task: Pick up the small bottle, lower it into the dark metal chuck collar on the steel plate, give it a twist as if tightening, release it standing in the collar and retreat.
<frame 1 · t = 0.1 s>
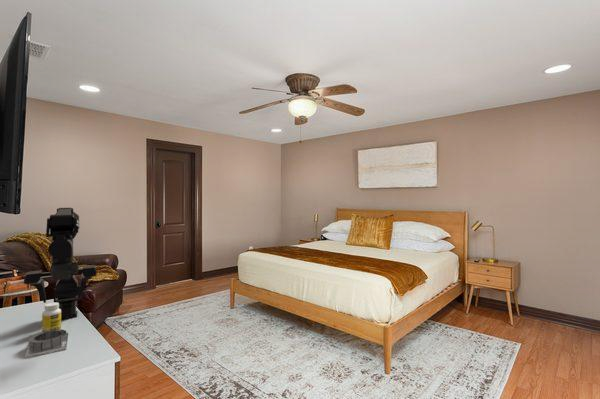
hand: (62, 300, 105), 15 cm above the dresser, fingers open, 9 cm apart
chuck: (48, 345, 104), on the dresser
supplement bottle: (51, 331, 115), on the dresser
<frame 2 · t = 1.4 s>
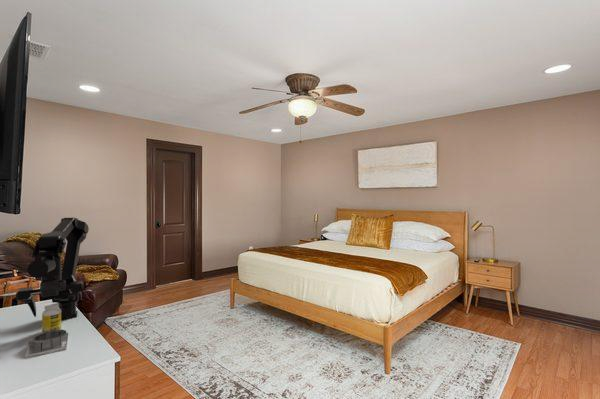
hand: (51, 313, 115), 6 cm above the dresser, fingers open, 9 cm apart
nothing on the dresser moved.
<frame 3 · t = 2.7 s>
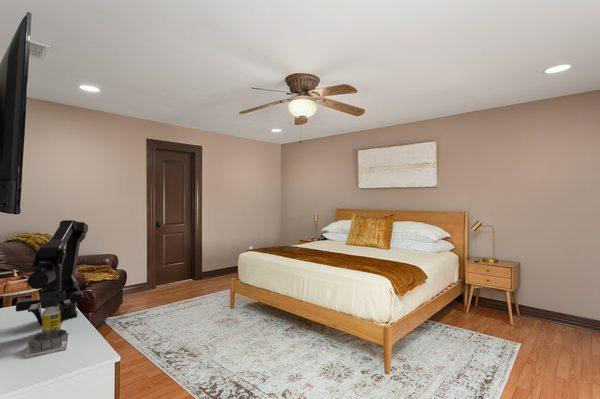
hand: (51, 324, 114), 3 cm above the dresser, fingers closed on supplement bottle, 5 cm apart
supplement bottle: (51, 331, 115), on the dresser, touching gripper
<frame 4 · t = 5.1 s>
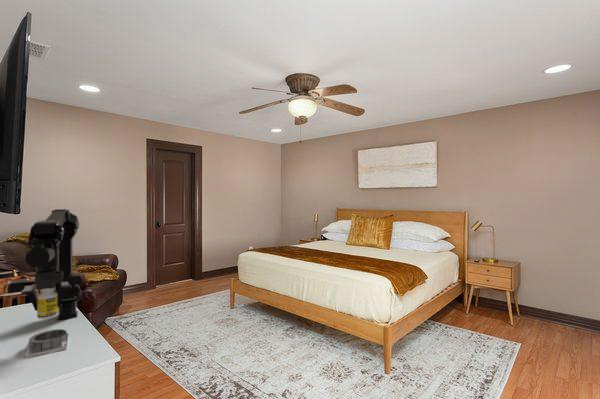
hand: (47, 308, 104), 12 cm above the dresser, fingers closed on supplement bottle, 5 cm apart
supplement bottle: (48, 317, 104), point 9 cm above the dresser, touching gripper
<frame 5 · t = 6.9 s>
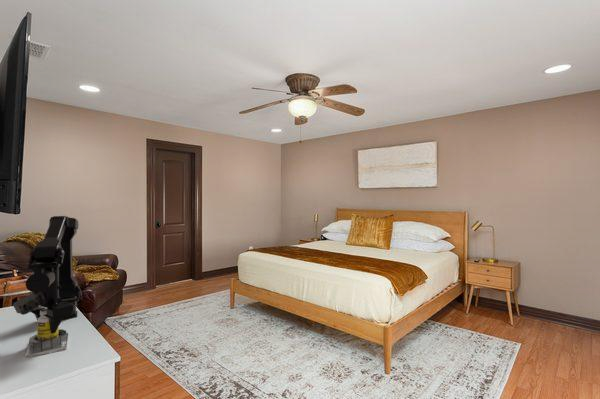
hand: (48, 331, 104), 5 cm above the dresser, fingers closed on supplement bottle, 5 cm apart
supplement bottle: (48, 339, 104), point 2 cm above the dresser, touching gripper
when the fingers open (5 cm above the dresser, at t = 7.9 s): supplement bottle drops 1 cm, resting on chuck.
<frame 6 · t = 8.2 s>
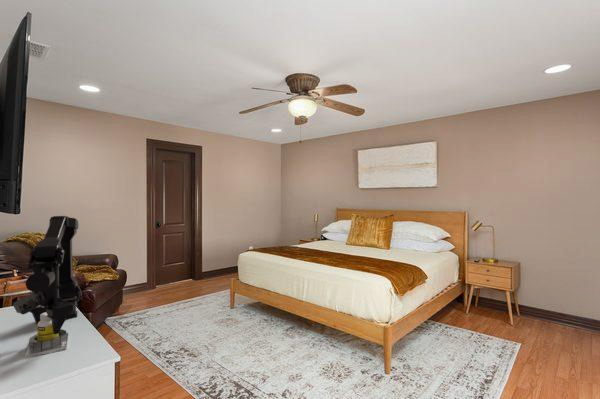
hand: (48, 331, 104), 5 cm above the dresser, fingers open, 9 cm apart
supplement bottle: (48, 343, 104), point 1 cm above the dresser, touching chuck
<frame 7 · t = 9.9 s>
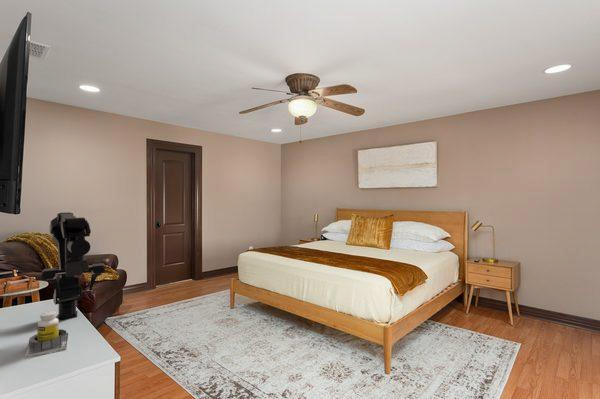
hand: (75, 294, 117), 12 cm above the dresser, fingers open, 9 cm apart
nothing on the dresser moved.
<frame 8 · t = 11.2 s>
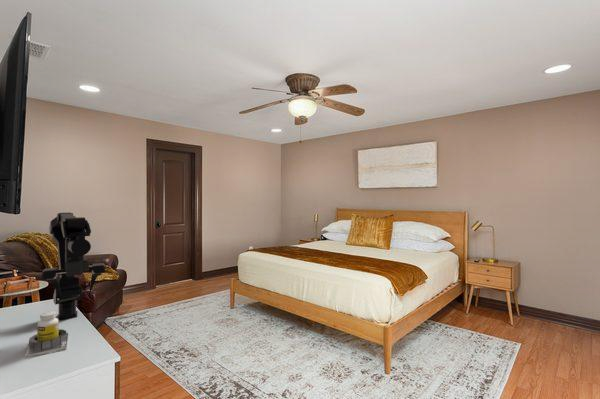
hand: (75, 294, 117), 13 cm above the dresser, fingers open, 9 cm apart
nothing on the dresser moved.
at the end: supplement bottle 0.0 cm off-centre on the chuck, point 0.6 cm above the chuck's base; supplement bottle tilted 0°; the gripper is holding nothing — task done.
